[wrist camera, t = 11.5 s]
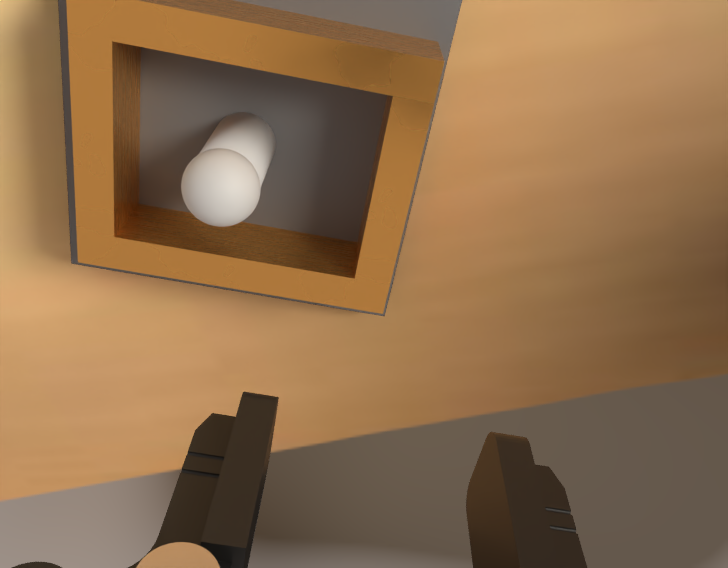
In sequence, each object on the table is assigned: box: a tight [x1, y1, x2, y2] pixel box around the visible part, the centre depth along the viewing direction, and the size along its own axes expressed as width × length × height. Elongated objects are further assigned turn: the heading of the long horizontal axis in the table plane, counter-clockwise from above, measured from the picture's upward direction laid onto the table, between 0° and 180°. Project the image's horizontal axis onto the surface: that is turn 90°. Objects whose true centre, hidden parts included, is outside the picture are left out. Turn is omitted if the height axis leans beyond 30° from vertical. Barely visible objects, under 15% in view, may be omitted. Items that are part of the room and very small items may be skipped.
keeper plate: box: [58, 0, 462, 316], centre depth 23 cm, size 14×18×7 cm
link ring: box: [66, 0, 445, 314], centre depth 25 cm, size 12×10×3 cm
